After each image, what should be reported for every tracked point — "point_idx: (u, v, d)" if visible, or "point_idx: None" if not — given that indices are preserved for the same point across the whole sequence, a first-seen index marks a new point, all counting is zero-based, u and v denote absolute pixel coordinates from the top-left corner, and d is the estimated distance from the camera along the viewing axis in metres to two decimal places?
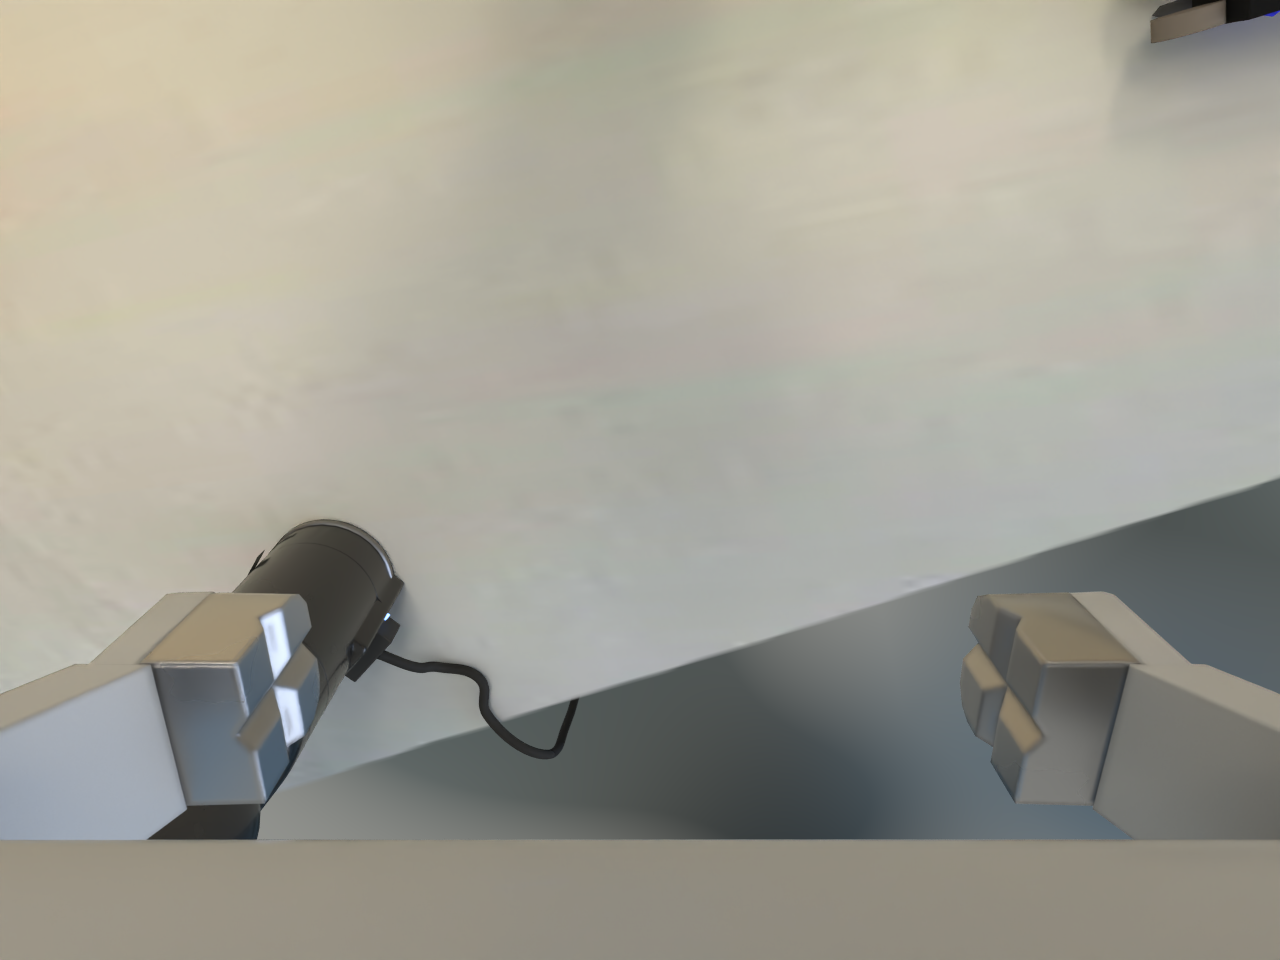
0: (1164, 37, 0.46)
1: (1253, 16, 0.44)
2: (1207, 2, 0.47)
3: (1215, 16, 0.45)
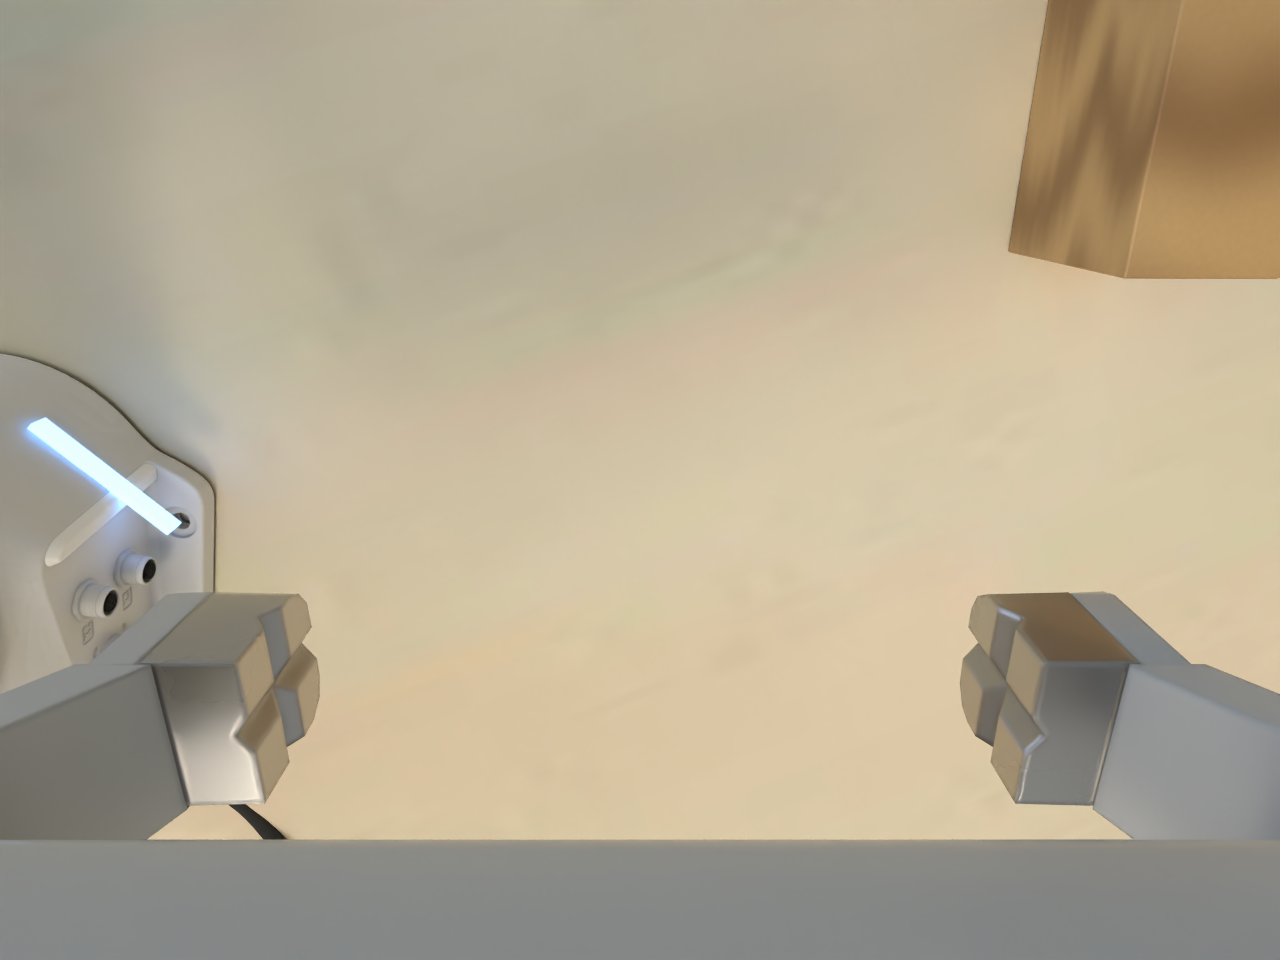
0: None
1: None
2: None
3: None
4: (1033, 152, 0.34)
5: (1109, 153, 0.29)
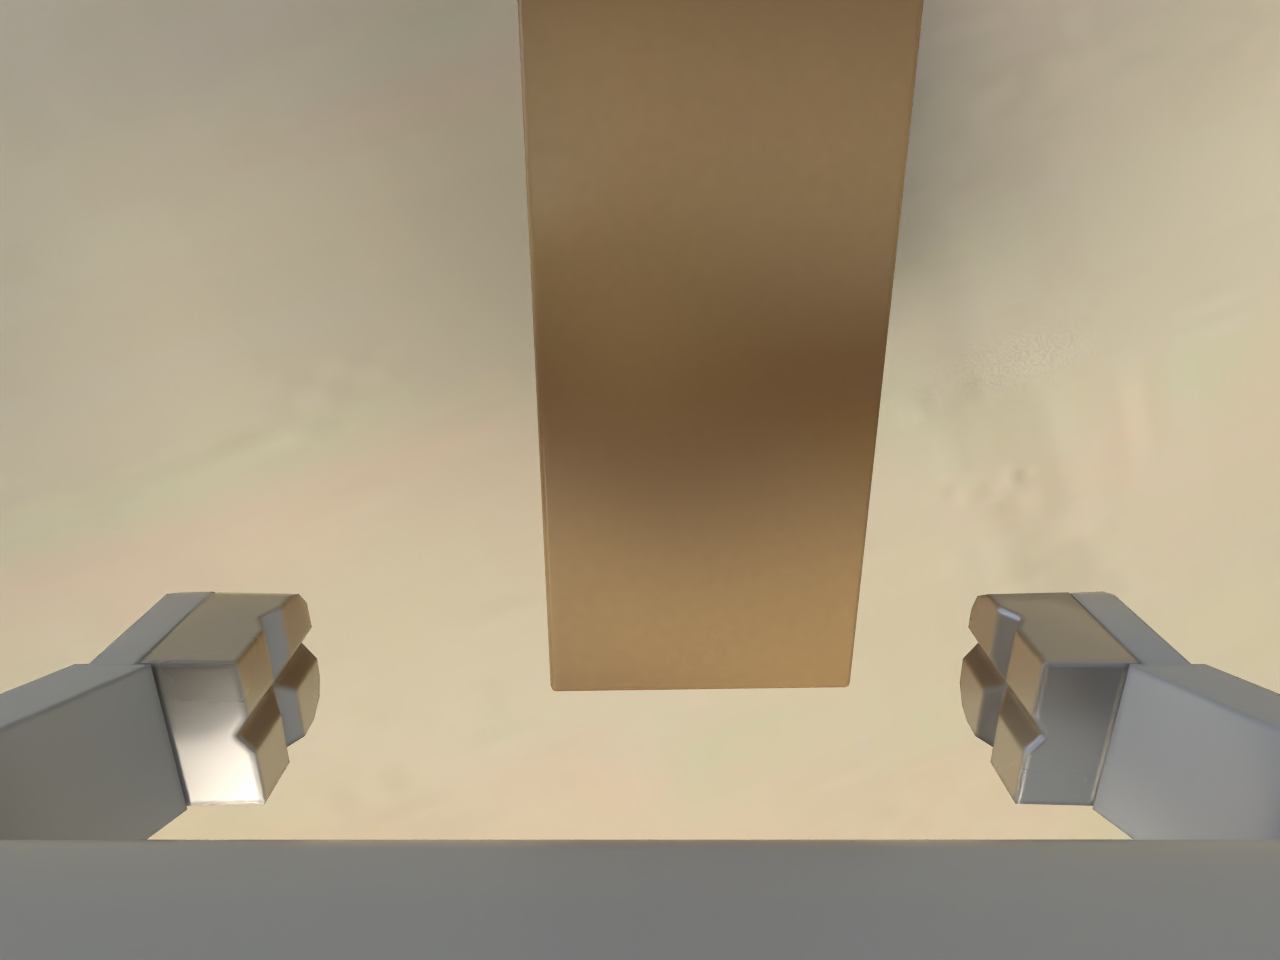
0: None
1: None
2: None
3: None
4: None
5: None
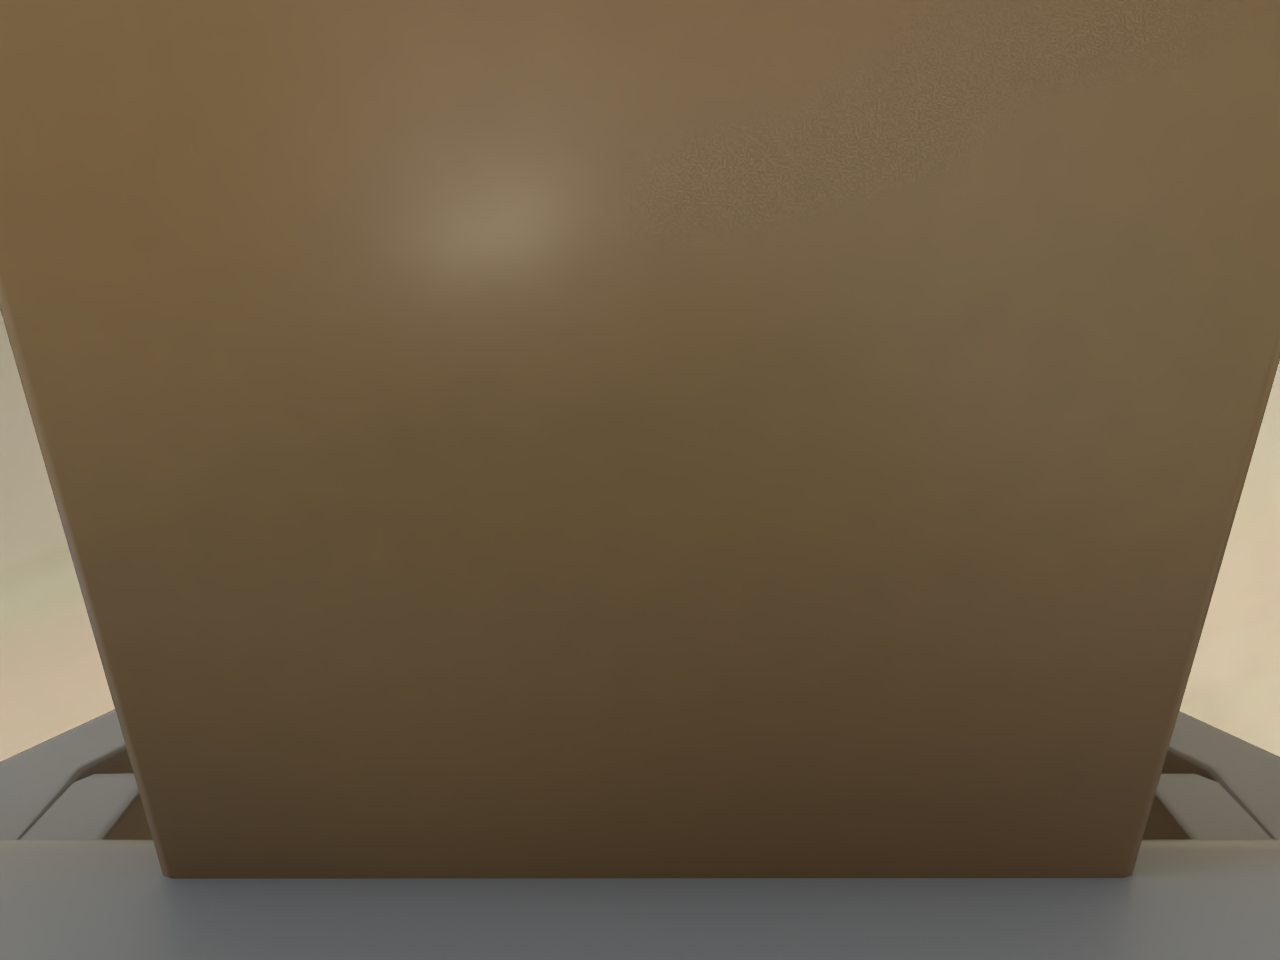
0: None
1: None
2: None
3: None
4: None
5: None
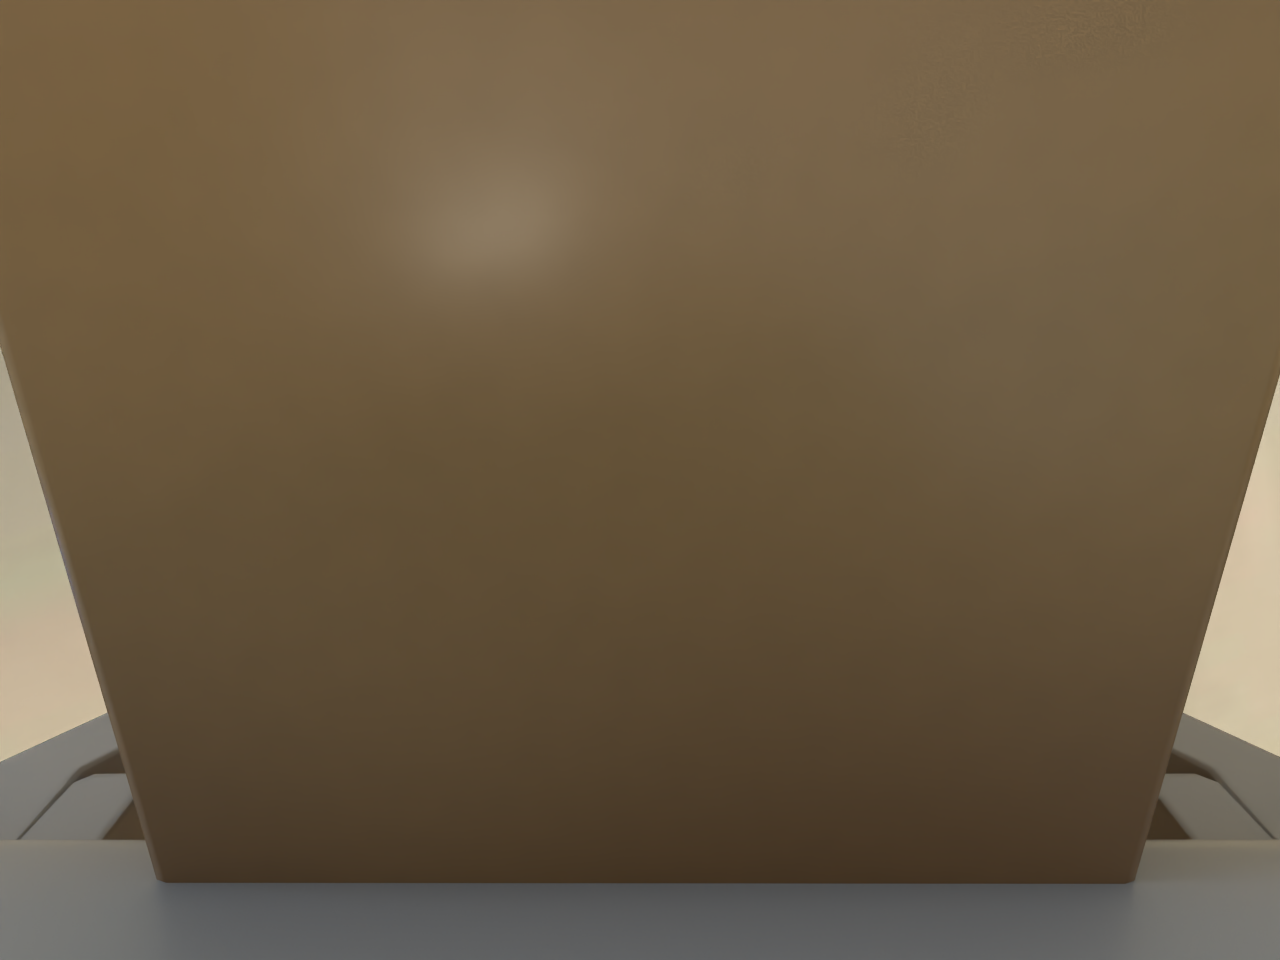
0: None
1: None
2: None
3: None
4: None
5: None
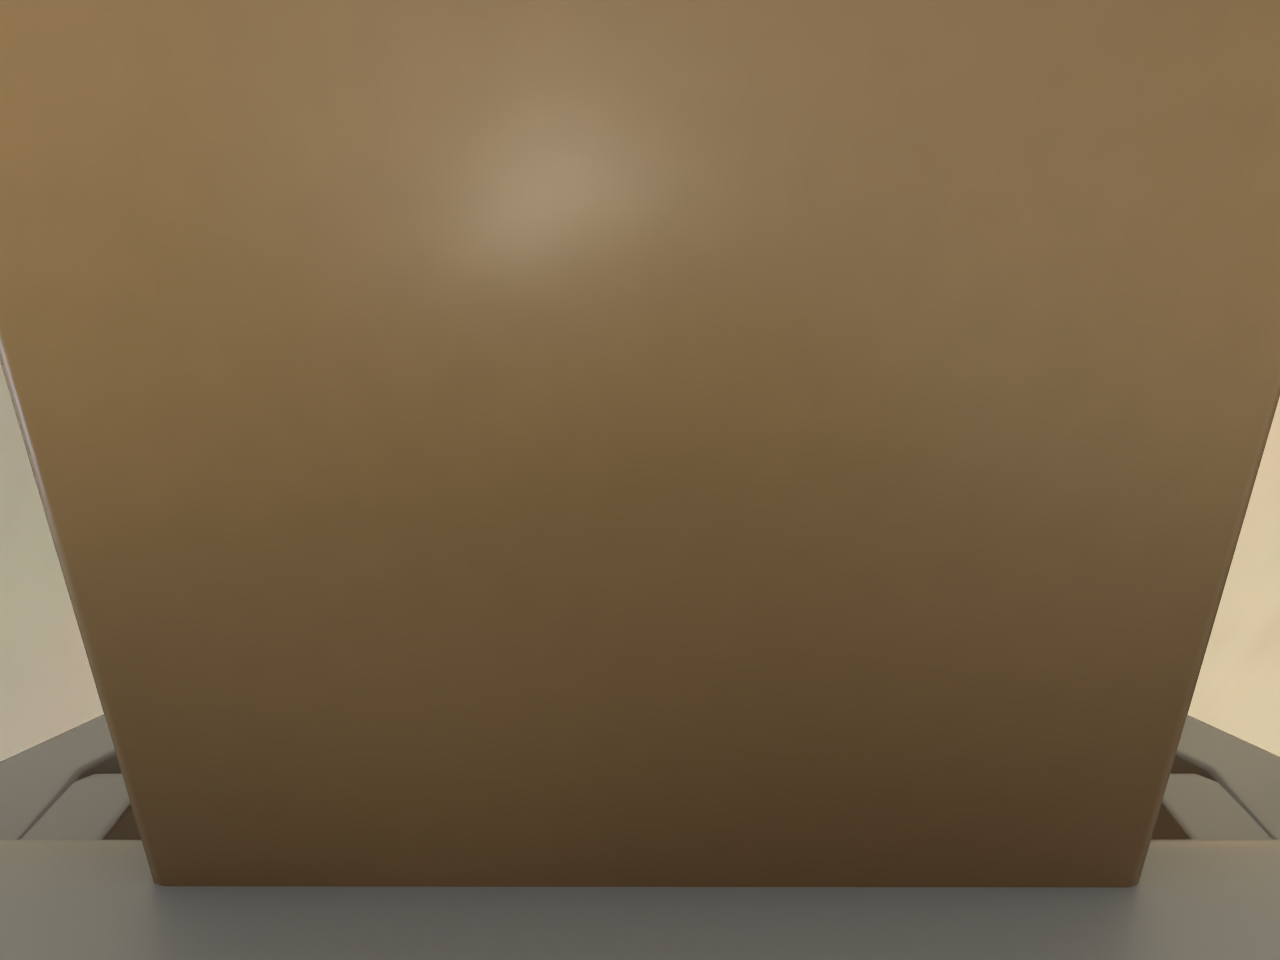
0: None
1: None
2: None
3: None
4: None
5: None
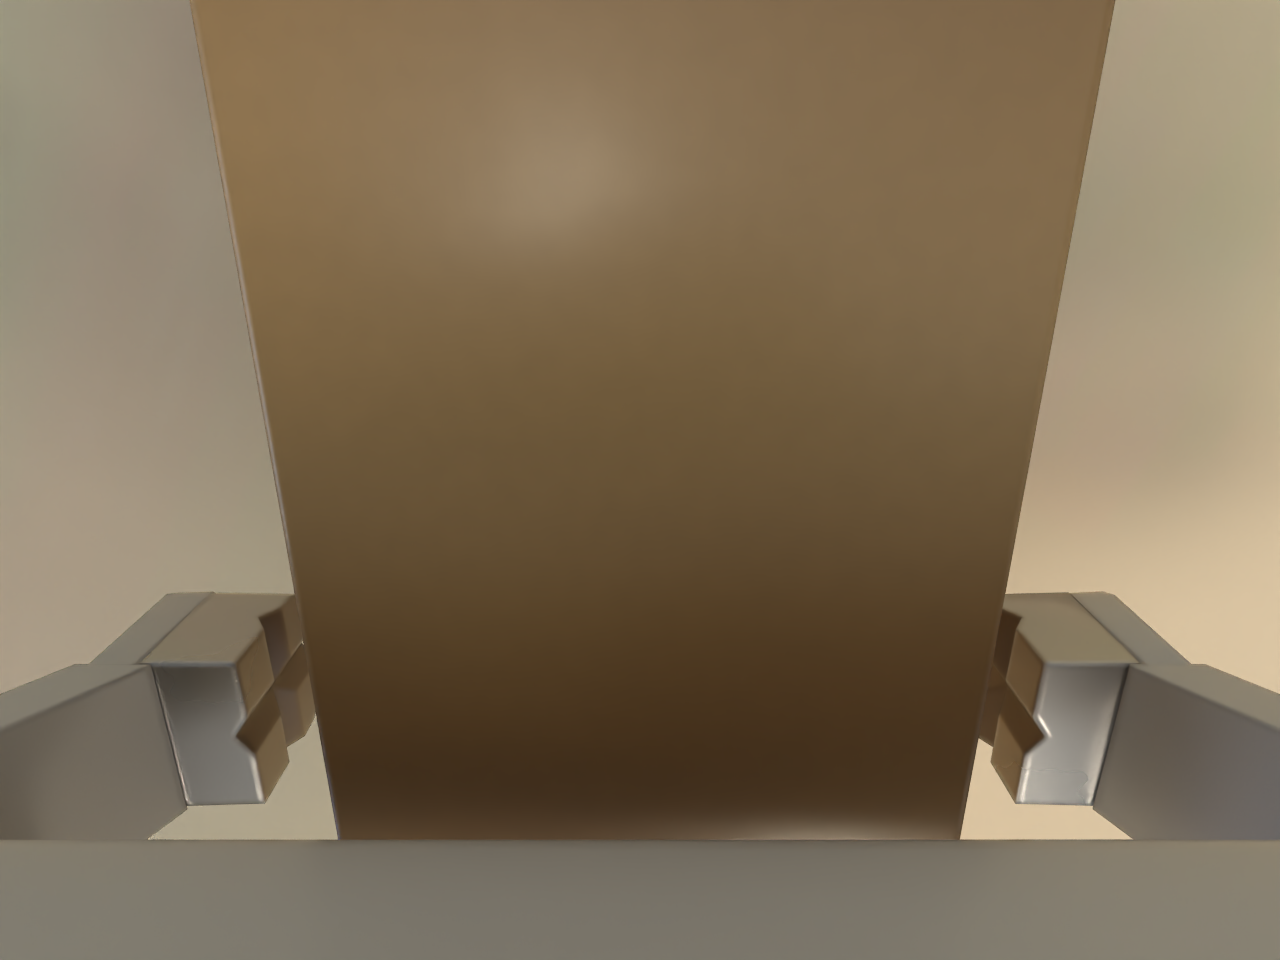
0: None
1: None
2: None
3: None
4: None
5: None
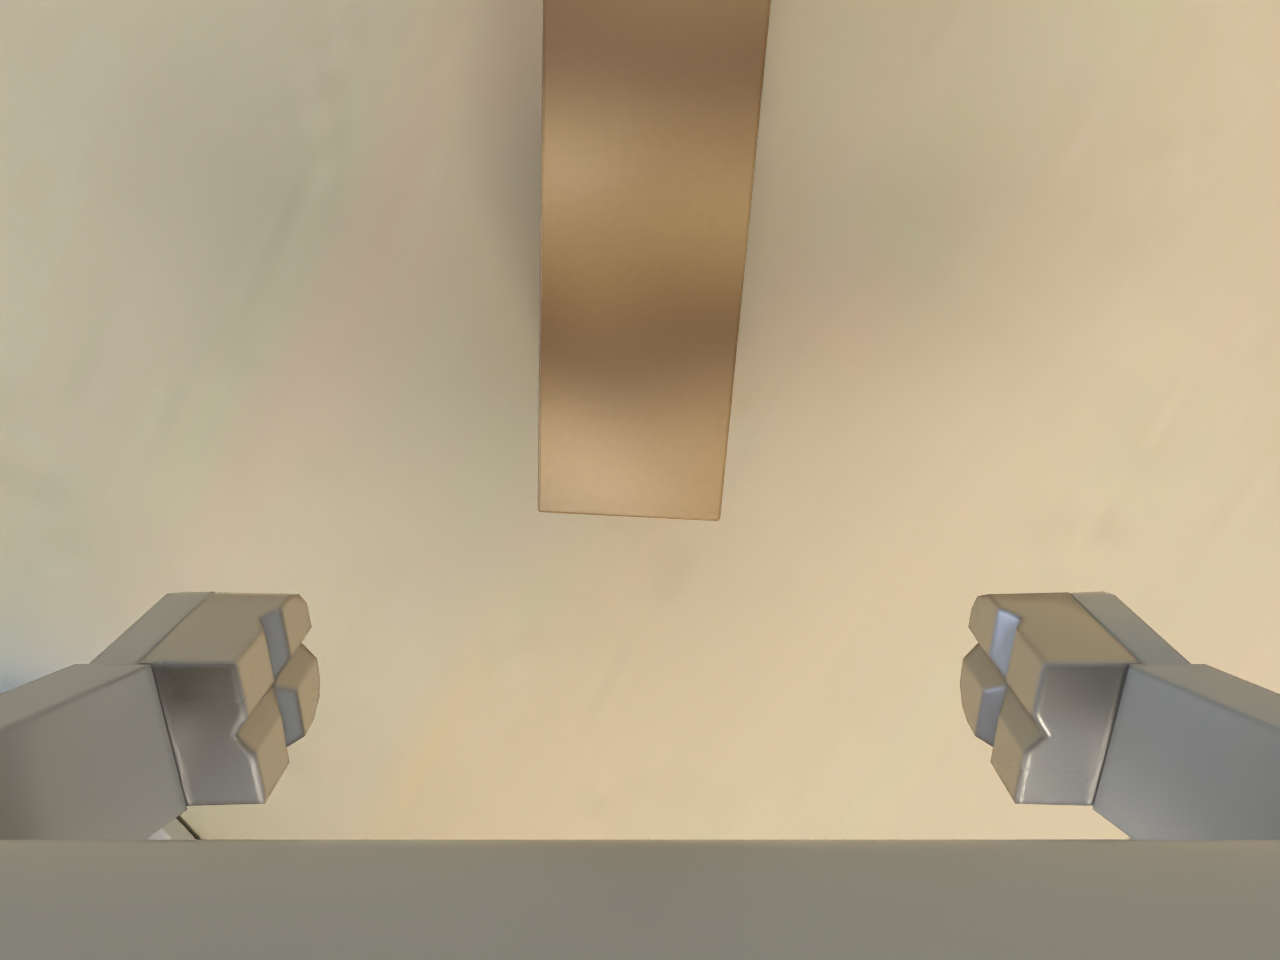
0: None
1: None
2: None
3: None
4: None
5: None
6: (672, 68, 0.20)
